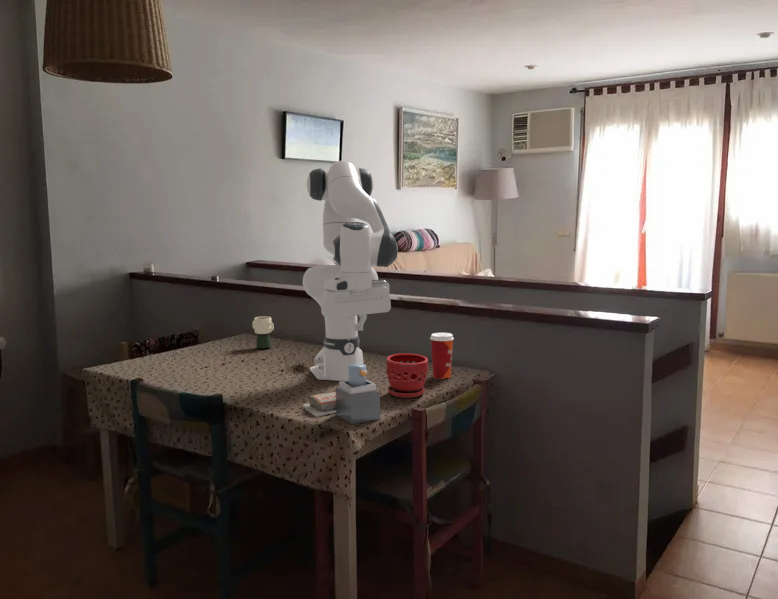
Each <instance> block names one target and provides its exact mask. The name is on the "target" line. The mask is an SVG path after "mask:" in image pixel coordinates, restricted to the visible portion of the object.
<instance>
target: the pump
mask: <svg viewBox="0 0 778 599" xmlns="http://www.w3.org/2000/svg"><path fill="white" fill-rule="evenodd" d="M366 370H367V364H364V363H363V364H360V363H356V364H350V365H348V376H349V386H351V387H356V386H362V385H366V379H367V375H368V372H367V373H366Z"/></svg>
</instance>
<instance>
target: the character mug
mask: <svg viewBox="0 0 778 599" xmlns="http://www.w3.org/2000/svg"><path fill="white" fill-rule="evenodd" d="M251 325H252V329H253V330H254V334H256V335H257V336H256V345H255V346H256V348H257V349H266V348H267V349H268V348H272V341H271V336H270V333H272V331H274V330H275V329H274V328H275V327H274V323H273V321H272V317H271V316H267V315H266V316H265V315H264V316H256V317H254V318H253V321H252V324H251Z"/></svg>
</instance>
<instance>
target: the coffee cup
mask: <svg viewBox="0 0 778 599" xmlns="http://www.w3.org/2000/svg"><path fill="white" fill-rule="evenodd" d="M453 336H454V335H453V333H450V332H434V333H432V334H431V335H430V338H429V340H430V345H431V366H432V376H433V378H434V377H435V378H434V379H436V378H441V379H440V380H444V379H443V378H448V379H450V378H451V377H452V361H453V344H454V343H453V342H454V339H455V338H454V337H453ZM449 377H450V378H449Z"/></svg>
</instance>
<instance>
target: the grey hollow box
mask: <svg viewBox="0 0 778 599" xmlns="http://www.w3.org/2000/svg"><path fill="white" fill-rule="evenodd" d="M335 392H336V414H335V416H337V417H338V418H340V417H341V418H340V419H342V420H343V419H344V421H345V420H346V421H347V422H346V421H345V422H346V423H348V422H349V423H348V424H349V425H351V424H353V425H357V423H358V424H361V423H368V422H373V421H378V420H381V391H379V390H378V389H377V384H376V383H374V382H373V381H370V380H368V378H366V385H362V386H356V387H351V386H349V380H345V381H338V386H337V387H335Z"/></svg>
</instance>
